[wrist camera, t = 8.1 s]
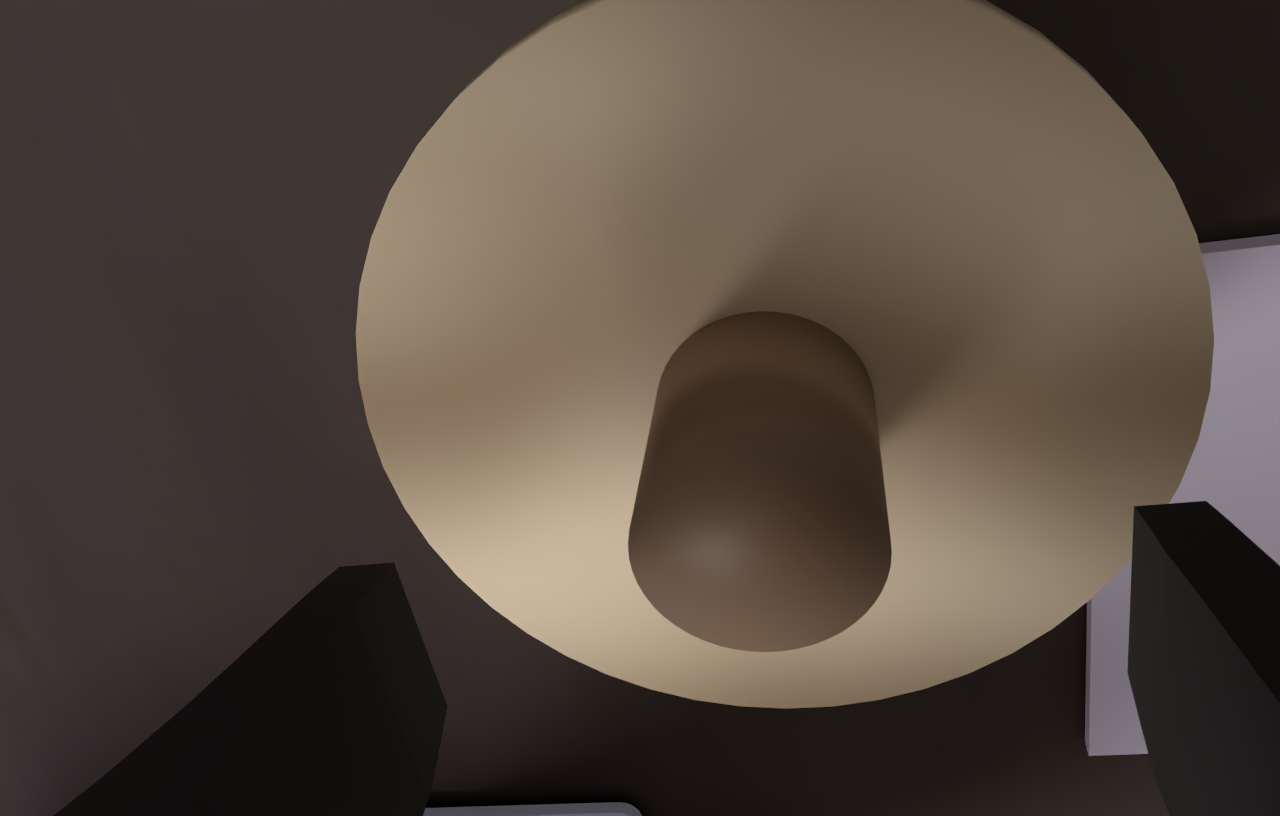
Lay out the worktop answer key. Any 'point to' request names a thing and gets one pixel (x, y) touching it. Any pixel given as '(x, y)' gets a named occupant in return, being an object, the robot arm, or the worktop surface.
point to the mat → (1207, 467)
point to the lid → (784, 341)
